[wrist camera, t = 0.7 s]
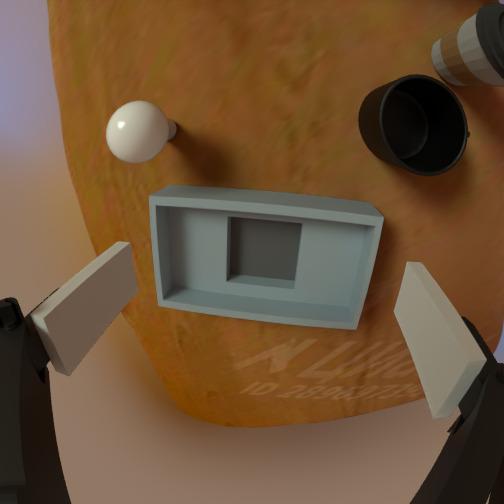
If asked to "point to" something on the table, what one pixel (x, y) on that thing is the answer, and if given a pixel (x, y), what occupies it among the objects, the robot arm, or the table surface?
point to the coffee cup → (473, 50)
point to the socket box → (263, 254)
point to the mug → (415, 125)
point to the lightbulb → (139, 132)
